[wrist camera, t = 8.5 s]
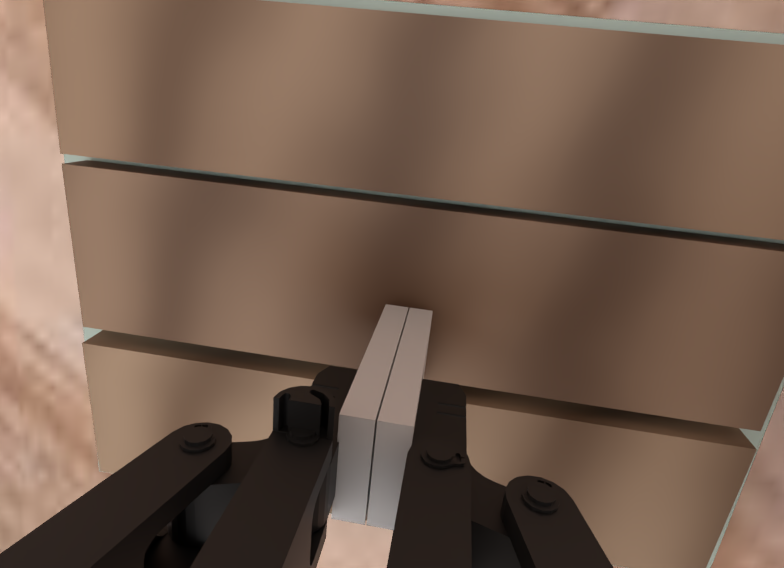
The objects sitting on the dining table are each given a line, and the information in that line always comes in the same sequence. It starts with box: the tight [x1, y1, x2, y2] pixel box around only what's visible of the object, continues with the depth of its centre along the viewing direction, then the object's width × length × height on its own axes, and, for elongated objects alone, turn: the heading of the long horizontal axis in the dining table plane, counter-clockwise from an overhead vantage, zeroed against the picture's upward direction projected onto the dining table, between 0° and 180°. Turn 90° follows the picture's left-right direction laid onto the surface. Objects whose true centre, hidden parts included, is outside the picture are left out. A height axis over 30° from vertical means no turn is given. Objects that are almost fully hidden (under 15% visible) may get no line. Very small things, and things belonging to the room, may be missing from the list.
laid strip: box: [43, 0, 784, 240], centre depth 15 cm, size 24×5×1 cm, turn 85°
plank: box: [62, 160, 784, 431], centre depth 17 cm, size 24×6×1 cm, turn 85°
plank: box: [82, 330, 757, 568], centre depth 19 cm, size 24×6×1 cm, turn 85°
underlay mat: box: [64, 0, 784, 568], centre depth 18 cm, size 26×20×1 cm
